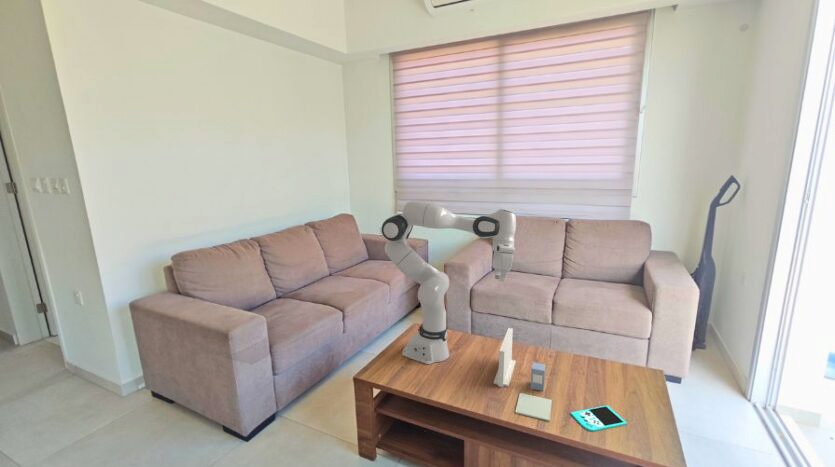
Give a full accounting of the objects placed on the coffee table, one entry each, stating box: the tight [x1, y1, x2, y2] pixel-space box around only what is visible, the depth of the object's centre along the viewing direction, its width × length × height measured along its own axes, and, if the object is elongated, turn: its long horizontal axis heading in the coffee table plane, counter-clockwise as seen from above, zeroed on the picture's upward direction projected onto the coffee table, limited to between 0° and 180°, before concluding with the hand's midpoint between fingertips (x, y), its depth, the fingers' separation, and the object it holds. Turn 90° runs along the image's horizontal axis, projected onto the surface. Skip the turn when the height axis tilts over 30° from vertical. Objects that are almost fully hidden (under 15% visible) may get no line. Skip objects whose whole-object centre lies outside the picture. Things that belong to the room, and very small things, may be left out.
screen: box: [493, 327, 516, 388], centre depth 162 cm, size 6×22×16 cm, turn 157°
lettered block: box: [530, 361, 547, 392], centre depth 153 cm, size 5×5×9 cm
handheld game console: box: [570, 405, 628, 432], centre depth 135 cm, size 10×16×1 cm, turn 104°
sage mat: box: [515, 392, 553, 422], centre depth 141 cm, size 12×12×1 cm
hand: (499, 280), depth 160 cm, fingers open, 8 cm apart
